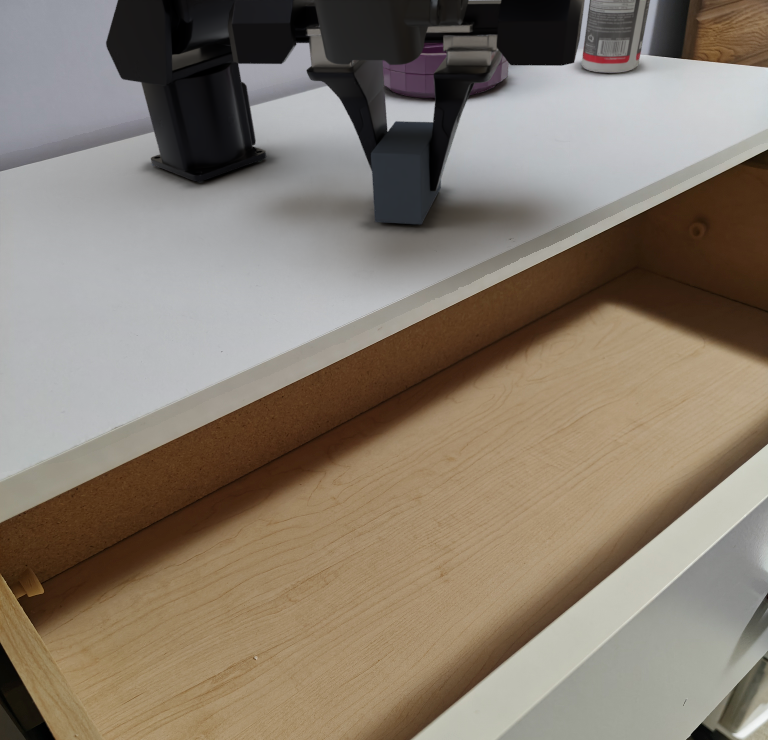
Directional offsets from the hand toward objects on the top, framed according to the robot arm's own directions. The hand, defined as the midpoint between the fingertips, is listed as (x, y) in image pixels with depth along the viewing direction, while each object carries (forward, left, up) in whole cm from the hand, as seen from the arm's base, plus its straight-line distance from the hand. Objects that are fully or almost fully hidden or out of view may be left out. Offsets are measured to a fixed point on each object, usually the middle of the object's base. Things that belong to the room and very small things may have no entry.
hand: (408, 188), depth 43 cm
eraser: (0, 0, -1) cm, 1 cm away
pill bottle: (+37, +8, -1) cm, 38 cm away
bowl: (+24, +18, -1) cm, 30 cm away
